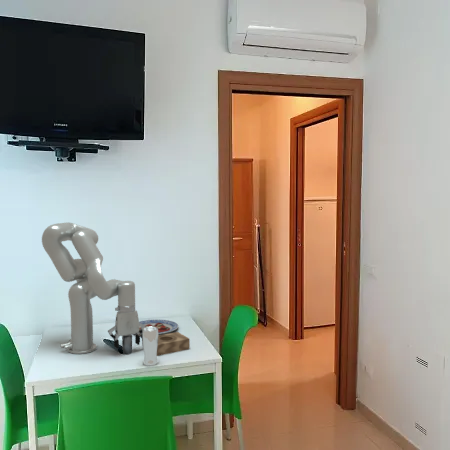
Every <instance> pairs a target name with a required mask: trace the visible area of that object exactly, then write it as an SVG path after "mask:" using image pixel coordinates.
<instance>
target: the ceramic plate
mask: <svg viewBox="0 0 450 450" xmlns="http://www.w3.org/2000/svg"><path fill="white" fill-rule="evenodd" d="M139 323H141V324H144V325H145V327H149V326H153V327H157V328H158V335H164V334H169V333H172V332H174V331H176V330H177V329H178V328H179V323H177V322H175V321H173V320H169V319H168V320H166V319H144V320H139ZM140 329H141V326H139V330H140Z"/></svg>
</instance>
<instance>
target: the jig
mask: <svg viewBox="0 0 450 450" xmlns="http://www.w3.org/2000/svg"><path fill="white" fill-rule="evenodd" d="M158 336H159V341H158V348H157V357H159V356H163V355H169V354H172V353H173V354H174V353H178V352H183V351H188V350H190V345H191V343H190V341H191V340H190V337H187V336H186V335H184V334H183V333H180V332H179V331H176V332H174V331H173V332H168V333H164V334H159V335H158Z"/></svg>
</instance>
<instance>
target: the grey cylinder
mask: <svg viewBox="0 0 450 450" xmlns="http://www.w3.org/2000/svg"><path fill="white" fill-rule="evenodd" d="M121 346H122V347H121V348H122V349H121V351H122V350H123V355H126V356H127V355H131V354H132V353H133V334H130V335H124V336H121Z"/></svg>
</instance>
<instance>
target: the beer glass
mask: <svg viewBox="0 0 450 450" xmlns="http://www.w3.org/2000/svg"><path fill="white" fill-rule="evenodd" d="M158 341H159V336H158V328H157V327H153V326H149V327H144V328H143V329H142V334H141V343H142V350H143V361H142V363H143V365H144V366H147V367H148V366H149V367H150V366H156V365H157V364H159V363H158V356H157V348H158Z"/></svg>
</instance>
